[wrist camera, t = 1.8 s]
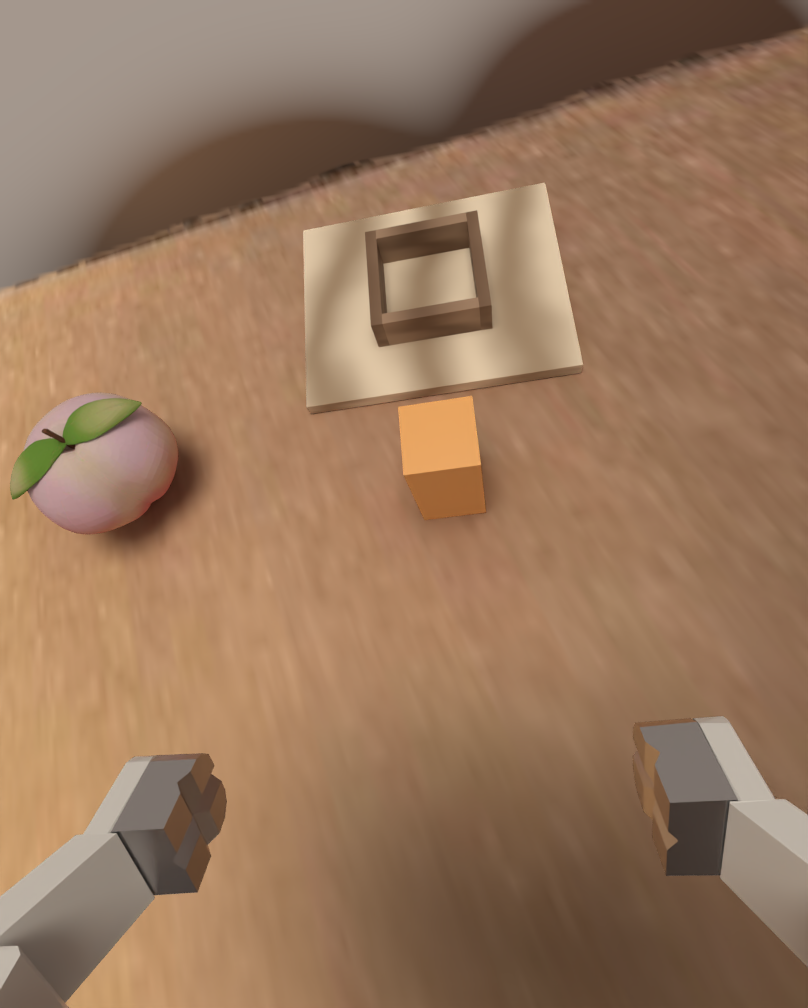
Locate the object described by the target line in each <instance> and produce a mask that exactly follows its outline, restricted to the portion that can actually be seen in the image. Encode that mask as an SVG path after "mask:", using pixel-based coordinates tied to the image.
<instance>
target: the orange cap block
mask: <svg viewBox="0 0 808 1008" xmlns="http://www.w3.org/2000/svg"><path fill="white" fill-rule="evenodd" d="M398 411H399V424H400V436H401V449H402V462H403V474H404V477H405V479H406V482H407V484H408V486H409V488H410V490H411V492H412V494H413V497H414V499H415V501H416V503H417V505H418V507H419V509H420V512H421V514H422V516H423V518H424V520H430V519H438V518H446V517H454V516H462V515H470V514H479V513H486V507H485V497H484V488H483V479H482V470H481V461H480V453H479V446H478V438H477V430H476V423H475V415H474V407H473V399H472V396H468V397H461V398H455V399H448V400H441V401H435V402H428V403H422V404H415V405H408V406H402V407H398Z"/></svg>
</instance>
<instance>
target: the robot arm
mask: <svg viewBox="0 0 808 1008" xmlns="http://www.w3.org/2000/svg"><path fill="white" fill-rule="evenodd" d="M633 739H634V742H635V745H636V748H637V752H636V753H635V754H634V755H633V772H634V779H635V785H636V789H637V793H638V796H639V800H640V803H641V806H642V809H643V812H644V813H646V814H647V815H648V816H649V817H650V818H651V819H652V838H653V840H654V843H655V846H656V849H657V852H658V855H659V857H660V860H661V863H662V866H663V869H664V871H665V874H666V876H687V875H720V878H721V880H722V881H723V882H724V883H725V884H726V885H727V886H728V887H729V888H730V889H731V890H732V891H733V892H734V893H735V894H736V895H737V896H738V897H739V898H740V899H741V900H742V901H743V902H744V903H745V904H746V905H747V906H748V907H749V908H750V909H751V910H752V911H753V912H754V913H755V914H756V915H757V916H758V917H759V918H760V919H761V920H762V921H763V922H764V923H765V924H766V925H767V926H768V927H769V928H770V930H771V931H772V932H773V933H774V934H775V935H776V936H777V937H778V938H779V939H780V940H781V941H782V942H783V943H784V944H785V945H786V946H787V947H788V948H789V949H790V950H791V951H792V952H793V953H794V954H795V955H796V956H797V957H798V958H799V959H800V960H801V961H802V962H803V963H804V964H805V965H806V966H807V967H808V815H807V814H806V813H805V812H803V811H802V810H800V809H799V808H797V807H796V806H795V805H793V804H792V803H790V802H789V801H787V800H786V799H775V798H774V796H773V794H772V792H771V791H770V789H769V787H768V786H767V784H766V782H765V781H764V779H763V777H762V776H761V774H760V772H759V771H758V769H757V767H756V765H755V764H754V762H753V760H752V759H751V757H750V755H749V754H748V752H747V750H746V749H745V747H744V745H743V744H742V742H741V740H740V739H739V737H738V735H737V733H736V732H735V730H734V728H733V727H732V725H731V723H730V722H729V720H727V719H726V718H725V717H724V716H719V717H706V718H694V719H691V718H687V719H675V720H662V721H650V722H638V723H635V724H634V727H633ZM213 768H214V763H213V761H212V760H211V758H210V756H209V754H203V753H201V754H176V755H157V756H137V757H133V758H132V759H130V760H129V761H128V762H127V763H126V764H125V765H124V767H123V769H122V770H121V772H120V774H119V775H118V777H117V779H116V780H115V782H114V784H113V785H112V787H111V789H110V790H109V792H108V794H107V795H106V797H105V799H104V800H103V802H102V804H101V805H100V807H99V809H98V810H97V812H96V814H95V815H94V817H93V819H92V820H91V822H90V824H89V825H88V827H87V829H86V830H85V832H84V834H82V835H75V836H74V837H73V838H72V839H70V840H69V841H68V842H67V843H65V844H64V845H63V846H62V847H61V848H59V849H58V850H57V851H56V852H54V853H53V854H52V855H51V856H49V857H48V858H47V859H46V860H45V861H43V862H42V863H41V864H40V865H38V866H37V867H36V868H35V869H34V870H32V871H31V872H30V873H29V874H27V875H26V876H25V877H24V878H22V879H21V880H20V881H19V882H18V883H16V884H15V885H14V886H13V887H11V888H10V889H9V890H8V891H7V892H5V893H4V894H3V895H2V896H0V1008H69V1007H68V1006H67V1005H66V1001H67V1000H68V999H69V998H70V997H71V995H72V994H73V993H74V992H75V991H76V990H77V988H78V987H79V986H80V985H81V984H82V983H83V981H84V980H85V979H86V978H87V977H88V976H89V974H90V973H91V972H92V971H93V970H94V969H95V967H96V966H97V965H98V964H99V963H100V962H101V960H102V959H103V958H104V957H105V956H106V955H107V953H108V952H109V951H110V950H111V949H112V948H113V946H114V945H115V944H116V943H117V942H118V940H119V939H120V938H121V937H122V936H123V935H124V933H125V932H126V931H127V930H128V929H129V928H130V926H131V925H132V924H133V923H134V922H135V921H136V919H137V918H138V917H139V916H140V915H141V914H142V912H143V911H144V910H145V909H146V908H147V907H148V905H149V904H150V903H151V902H152V901H153V900H154V898H155V897H154V895H164V894H179V893H194V892H198V890H199V887H200V884H201V882H202V879H203V876H204V874H205V871H206V868H207V866H208V863H209V860H210V858H211V854H210V850H209V847H208V844H209V843H210V842H211V841H212V840H213V839H214V838H215V837H216V836H217V835H218V834H219V833H220V830H221V828H222V825H223V822H224V819H225V812H226V804H227V799H226V792H225V788H224V786H223V784H222V781H221V780H219V779H218V778H216V777H215V776H213V775H212V774H211V773H212V770H213Z"/></svg>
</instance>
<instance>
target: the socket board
mask: <svg viewBox="0 0 808 1008" xmlns="http://www.w3.org/2000/svg"><path fill="white" fill-rule="evenodd" d="M303 240H304V297H305V354H306V407H307V409H308V410H309V412H310V413H311V414H314V413H321V412H327V411H334V410H341V409H347V408H354V407H360V406H367V405H373V404H380V403H386V402H393V401H400V400H406V399H413V398H419V397H426V396H432V395H439V394H446V393H452V392H459V391H465V390H472V389H478V388H485V387H491V386H498V385H505V384H511V383H518V382H524V381H531V380H537V379H544V378H550V377H557V376H564V375H570V374H577V373H581V372H582V367H583V362H582V357H581V352H580V347H579V343H578V338H577V333H576V328H575V324H574V319H573V314H572V309H571V304H570V300H569V295H568V290H567V285H566V281H565V276H564V271H563V266H562V262H561V257H560V252H559V247H558V242H557V238H556V233H555V228H554V223H553V219H552V214H551V209H550V204H549V199H548V195H547V190H546V185H545V183H541V184H536V185H530V186H525V187H520V188H515V189H510V190H505V191H500V192H495V193H490V194H485V195H480V196H475V197H470V198H465V199H460V200H455V201H450V202H445V203H440V204H435V205H430V206H425V207H420V208H415V209H410V210H405V211H400V212H395V213H390V214H385V215H380V216H375V217H370V218H365V219H360V220H355V221H350V222H345V223H340V224H335V225H329V226H324V227H319V228H314V229H309V230H304V231H303Z"/></svg>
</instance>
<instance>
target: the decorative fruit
mask: <svg viewBox="0 0 808 1008" xmlns="http://www.w3.org/2000/svg"><path fill="white" fill-rule="evenodd" d="M177 462H178V446H177V442H176V439H175V436H174V434H173V432H172V431H171V429H170V428H169V426H168V425H167V424H166V423H165V422H164V421H163V420H162V419H160V418H159V417H158V416H157V415H155V414H154V413H152V412H151V411H150V410H148V409H146V408H145V407H143V406H141V402H139V401H134V400H130V399H128V398H125V397H123V396H119V395H116V394H110V393H91V394H85V395H80V396H77V397H74V398H71V399H69V400H66V401H64V402H63V403H61V404H59V405H58V406H56V407H55V408H53V409H52V410H51V411H50V412H48V413H47V414H46V415H45V416H44V417H43V418H42V419H41V420H40V421H39V422H38V423H37V424H36V426H35V427H34V428H33V429H32V431H31V433H30V435H29V437H28V438H27V441H26V444H25V447H24V451H23V452H22V453H21V455H20V456H19V457H18V459H17V461H16V463H15V465H14V468H13V471H12V475H11V482H10V490H11V495H12V499H16V498H18V497H20V496H21V495H22V494H24V493H25V492H26V491H28V493H29V495H30V497H31V499H32V501H33V502H34V503H35V505H36V506H37V507H38V509H39V510H40V511H41V512H42V513H43V514H44V515H45V516H47V517H48V518H49V519H50V520H52V521H53V522H54V523H56V524H57V525H59V526H61V527H62V528H64V529H66V530H69V531H72V532H74V533H80V534H97V533H103V532H107V531H110V530H114V529H116V528H119V527H121V526H123V525H126V524H128V523H130V522H132V521H134V520H136V519H137V518H139V517H140V516H142V515H143V514H144V513H145V512H146V511H147V510H148V508H149V507H150V505H151V503H152V502H154V501H155V500H157V499H159V498H161V497H162V496H163V495H164V494H165V493H166V491H167V490H168V488H169V486H170V484H171V482H172V480H173V478H174V475H175V472H176V468H177Z"/></svg>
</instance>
